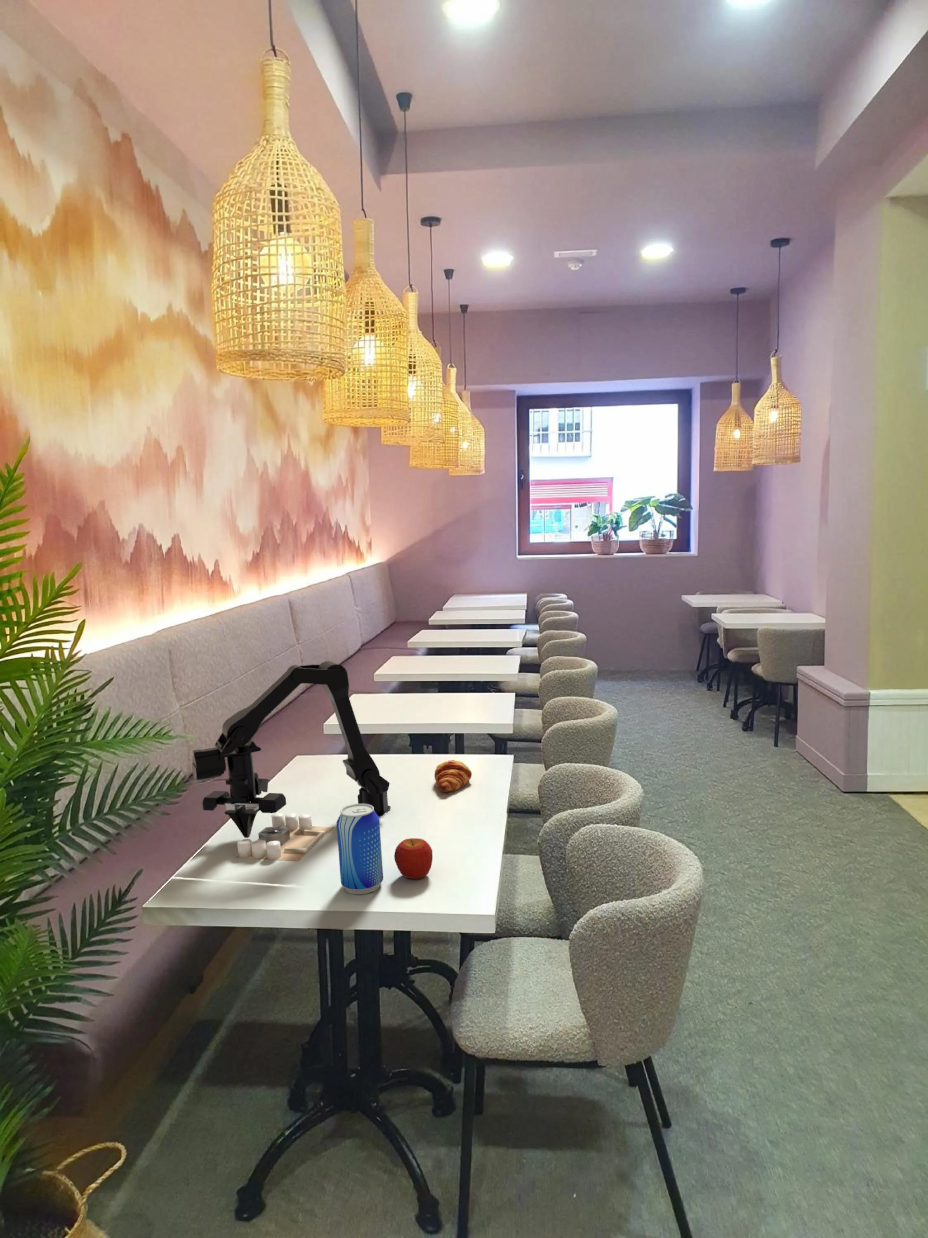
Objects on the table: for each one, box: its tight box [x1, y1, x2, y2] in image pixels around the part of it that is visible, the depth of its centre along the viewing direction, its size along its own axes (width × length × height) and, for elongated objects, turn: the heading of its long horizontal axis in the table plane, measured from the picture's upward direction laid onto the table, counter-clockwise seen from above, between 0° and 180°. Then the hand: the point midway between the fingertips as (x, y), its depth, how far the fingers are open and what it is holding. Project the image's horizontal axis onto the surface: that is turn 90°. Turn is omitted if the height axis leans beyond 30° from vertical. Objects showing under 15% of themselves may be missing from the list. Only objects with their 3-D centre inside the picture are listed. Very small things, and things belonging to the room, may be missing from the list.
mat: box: [235, 824, 334, 862], centre depth 187 cm, size 15×19×1 cm
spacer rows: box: [236, 812, 313, 861], centre depth 188 cm, size 10×19×3 cm, turn 166°
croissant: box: [433, 759, 473, 793], centre depth 223 cm, size 21×10×8 cm, turn 170°
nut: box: [257, 825, 290, 845], centre depth 188 cm, size 6×7×2 cm
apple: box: [393, 837, 434, 880], centre depth 167 cm, size 8×8×8 cm
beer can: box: [336, 803, 384, 895], centre depth 163 cm, size 8×8×16 cm
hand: (247, 837), depth 190 cm, fingers closed
